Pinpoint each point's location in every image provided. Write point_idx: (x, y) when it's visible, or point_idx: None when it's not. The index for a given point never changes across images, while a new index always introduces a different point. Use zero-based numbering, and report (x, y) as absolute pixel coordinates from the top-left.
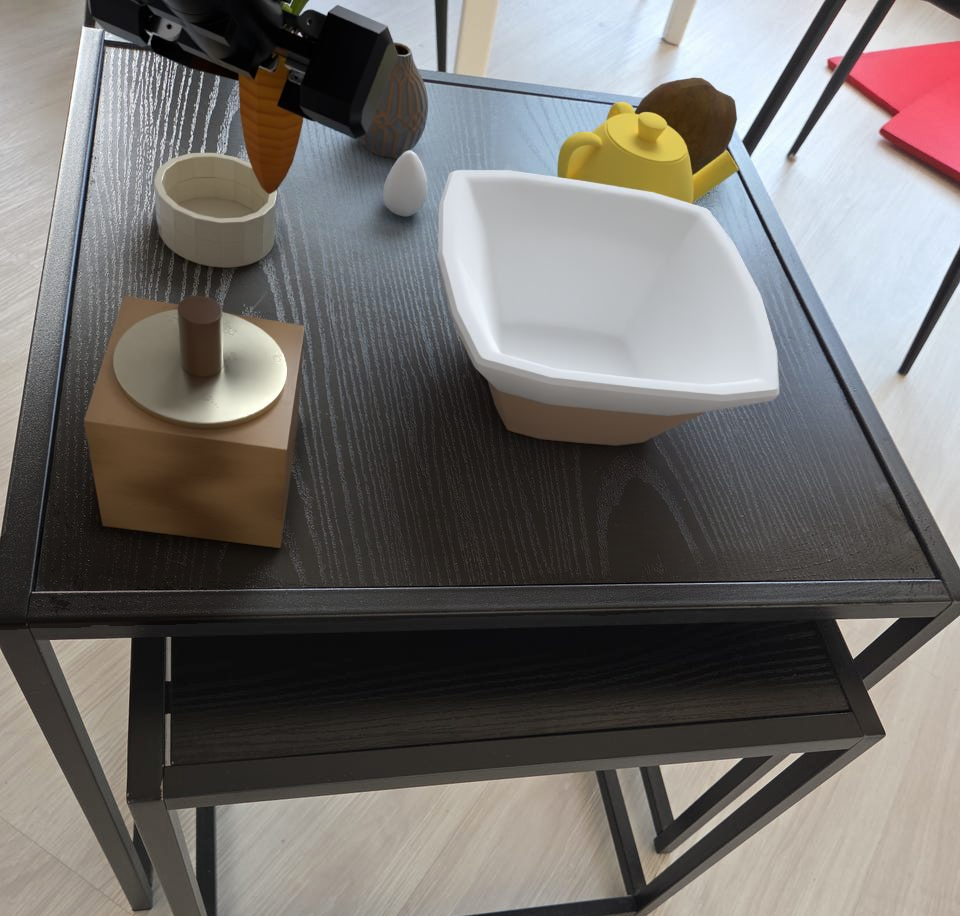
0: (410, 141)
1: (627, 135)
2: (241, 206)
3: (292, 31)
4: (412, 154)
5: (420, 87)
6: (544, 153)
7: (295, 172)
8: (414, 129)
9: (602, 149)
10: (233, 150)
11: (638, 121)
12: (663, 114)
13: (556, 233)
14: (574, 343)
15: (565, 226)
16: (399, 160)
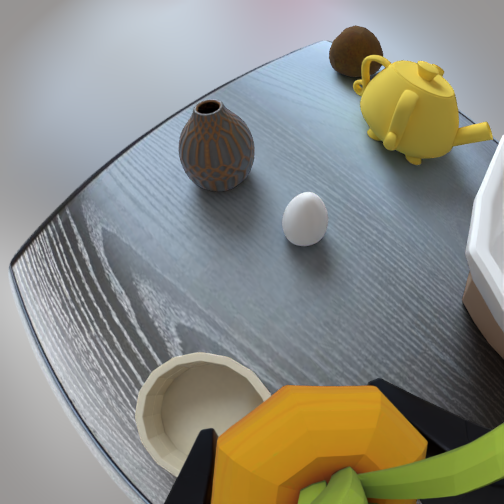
0: (252, 164)
1: (421, 81)
2: (201, 368)
3: (353, 437)
4: (312, 197)
5: (241, 121)
6: (304, 100)
7: (192, 271)
8: (253, 154)
9: (421, 99)
10: (132, 294)
11: (424, 70)
12: (361, 50)
13: (500, 214)
14: (500, 264)
15: (502, 204)
16: (302, 210)
